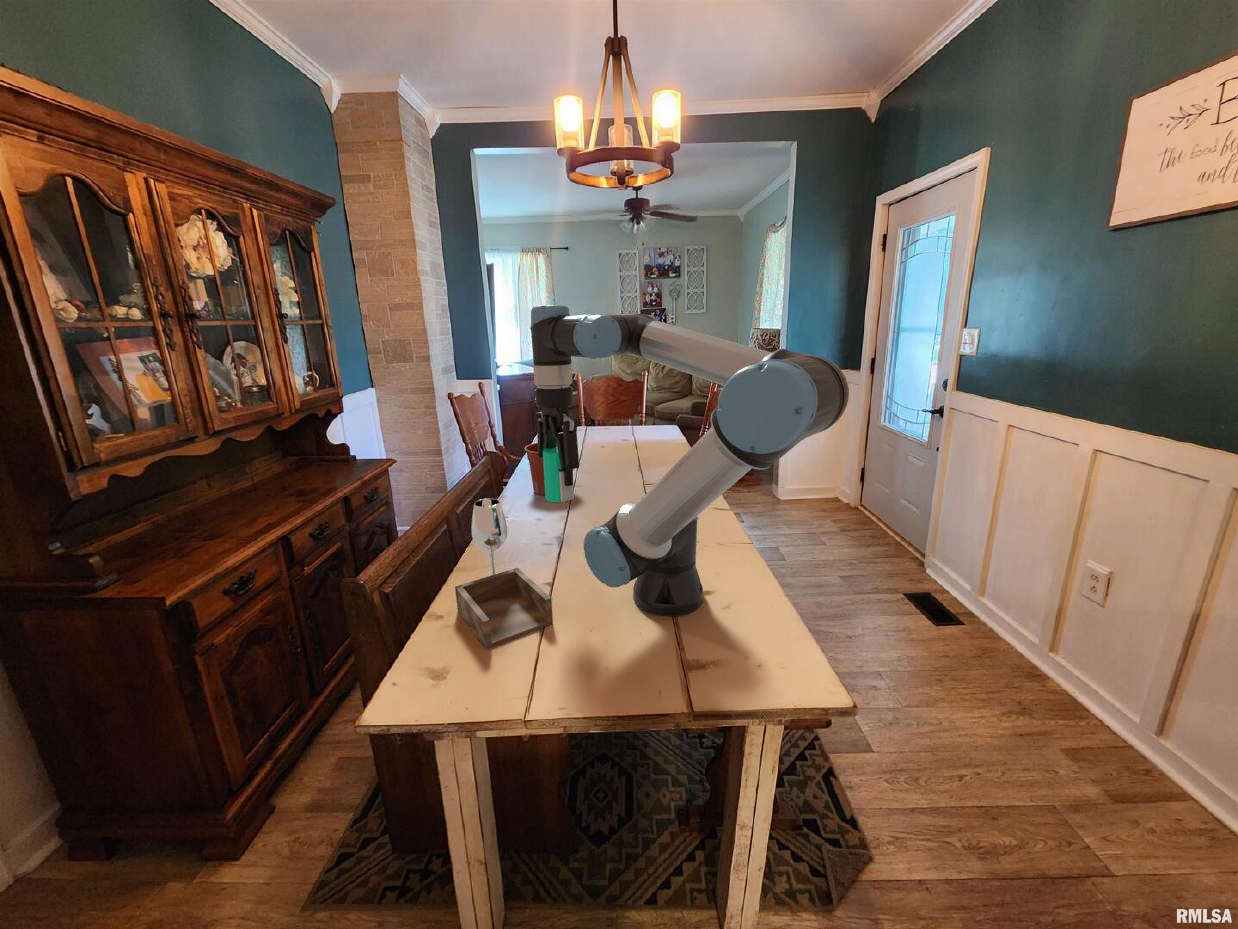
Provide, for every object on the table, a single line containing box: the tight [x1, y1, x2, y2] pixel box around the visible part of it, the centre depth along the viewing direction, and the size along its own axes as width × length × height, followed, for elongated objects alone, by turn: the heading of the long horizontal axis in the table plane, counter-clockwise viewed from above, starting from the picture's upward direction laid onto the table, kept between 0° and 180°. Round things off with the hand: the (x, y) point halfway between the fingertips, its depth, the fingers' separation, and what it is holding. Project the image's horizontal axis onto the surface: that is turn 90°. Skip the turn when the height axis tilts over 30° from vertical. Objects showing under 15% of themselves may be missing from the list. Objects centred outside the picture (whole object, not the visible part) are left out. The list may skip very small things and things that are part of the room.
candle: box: [543, 447, 569, 503], centre depth 107 cm, size 6×6×12 cm
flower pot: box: [524, 442, 557, 496], centre depth 182 cm, size 16×16×16 cm
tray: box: [454, 567, 554, 650], centre depth 105 cm, size 16×14×6 cm
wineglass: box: [471, 498, 508, 575], centre depth 116 cm, size 8×8×20 cm
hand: (559, 495), depth 109 cm, fingers closed on candle, 6 cm apart
